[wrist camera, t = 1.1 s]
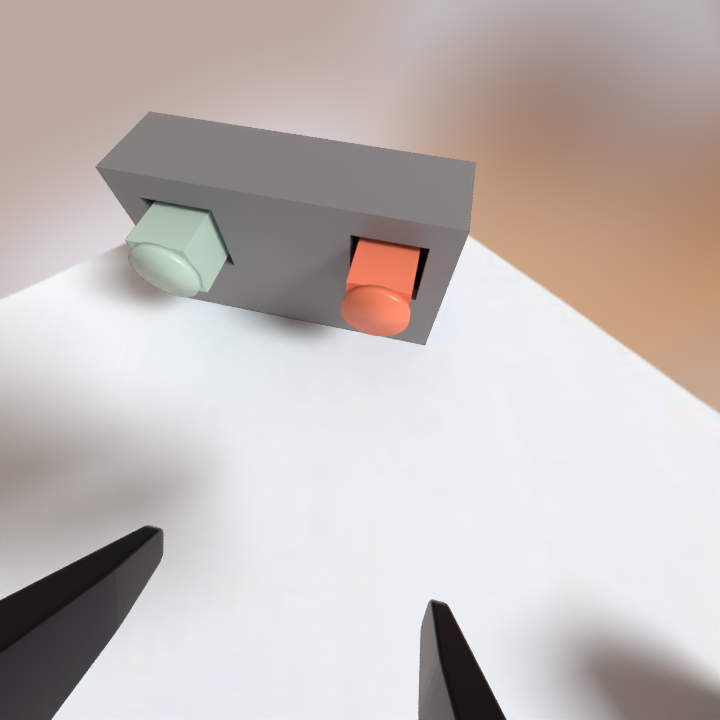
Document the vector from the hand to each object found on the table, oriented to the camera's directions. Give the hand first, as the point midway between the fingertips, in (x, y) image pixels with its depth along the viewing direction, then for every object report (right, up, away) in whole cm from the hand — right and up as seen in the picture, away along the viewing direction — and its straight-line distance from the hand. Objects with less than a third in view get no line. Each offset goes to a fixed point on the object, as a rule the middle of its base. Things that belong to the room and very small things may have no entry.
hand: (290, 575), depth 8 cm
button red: (+3, +9, +14) cm, 17 cm away
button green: (-10, +12, +15) cm, 21 cm away
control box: (-3, +11, +21) cm, 24 cm away
